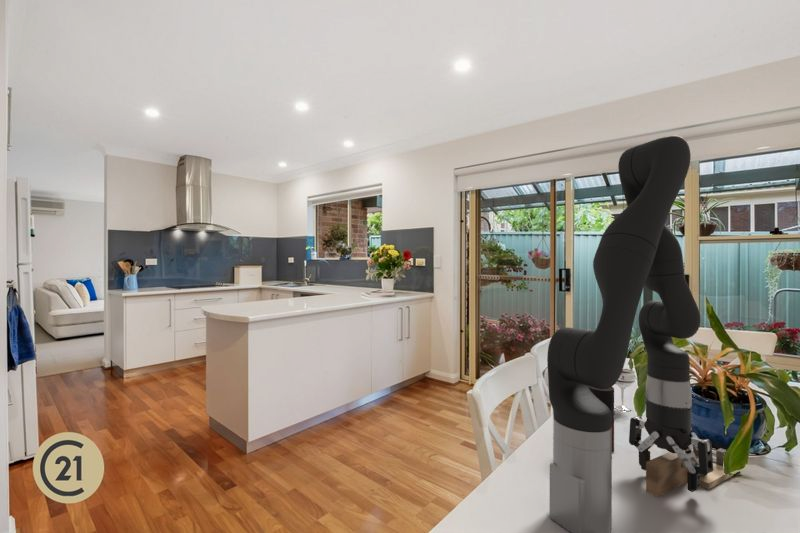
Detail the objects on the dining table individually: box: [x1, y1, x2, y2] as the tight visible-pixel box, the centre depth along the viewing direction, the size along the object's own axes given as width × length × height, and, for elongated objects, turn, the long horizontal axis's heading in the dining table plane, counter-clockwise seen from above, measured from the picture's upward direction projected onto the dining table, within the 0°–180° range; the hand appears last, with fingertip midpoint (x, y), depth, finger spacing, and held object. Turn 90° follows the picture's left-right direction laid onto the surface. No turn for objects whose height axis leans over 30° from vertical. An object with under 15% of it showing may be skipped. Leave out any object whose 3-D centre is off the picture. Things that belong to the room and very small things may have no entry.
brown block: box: [645, 450, 689, 498], centre depth 75 cm, size 12×2×6 cm, turn 118°
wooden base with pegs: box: [691, 444, 735, 490], centre depth 82 cm, size 14×9×4 cm, turn 118°
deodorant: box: [588, 386, 615, 454], centre depth 91 cm, size 6×6×15 cm
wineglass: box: [614, 367, 636, 410], centre depth 118 cm, size 7×7×12 cm
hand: (667, 479), depth 75 cm, fingers open, 8 cm apart
